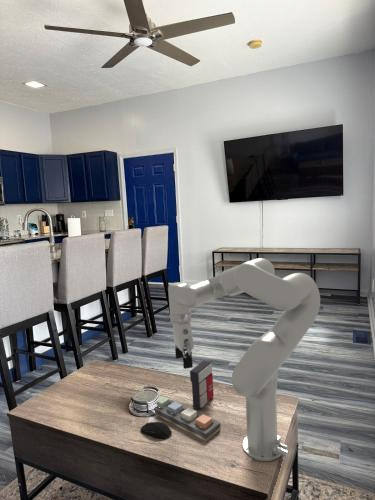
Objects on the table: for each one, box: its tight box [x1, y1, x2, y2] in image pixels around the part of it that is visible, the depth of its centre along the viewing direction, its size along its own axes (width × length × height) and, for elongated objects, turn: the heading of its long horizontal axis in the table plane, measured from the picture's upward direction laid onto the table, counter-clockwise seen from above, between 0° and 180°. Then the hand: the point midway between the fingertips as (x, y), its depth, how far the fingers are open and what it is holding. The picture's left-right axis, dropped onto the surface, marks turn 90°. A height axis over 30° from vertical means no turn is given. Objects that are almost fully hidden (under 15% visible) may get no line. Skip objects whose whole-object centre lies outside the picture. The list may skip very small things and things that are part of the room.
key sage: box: [157, 395, 170, 408], centre depth 138 cm, size 4×4×2 cm
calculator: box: [189, 360, 214, 410], centre depth 142 cm, size 11×4×15 cm, turn 147°
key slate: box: [167, 401, 184, 415], centre depth 133 cm, size 4×4×2 cm
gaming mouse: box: [140, 421, 173, 441], centre depth 125 cm, size 6×15×4 cm, turn 63°
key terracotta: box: [196, 414, 213, 429], centre depth 124 cm, size 4×4×2 cm
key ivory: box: [181, 407, 198, 422], centre depth 128 cm, size 4×4×2 cm
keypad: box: [154, 398, 222, 442], centre depth 131 cm, size 29×8×3 cm, turn 48°
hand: (183, 362), depth 130 cm, fingers open, 9 cm apart
